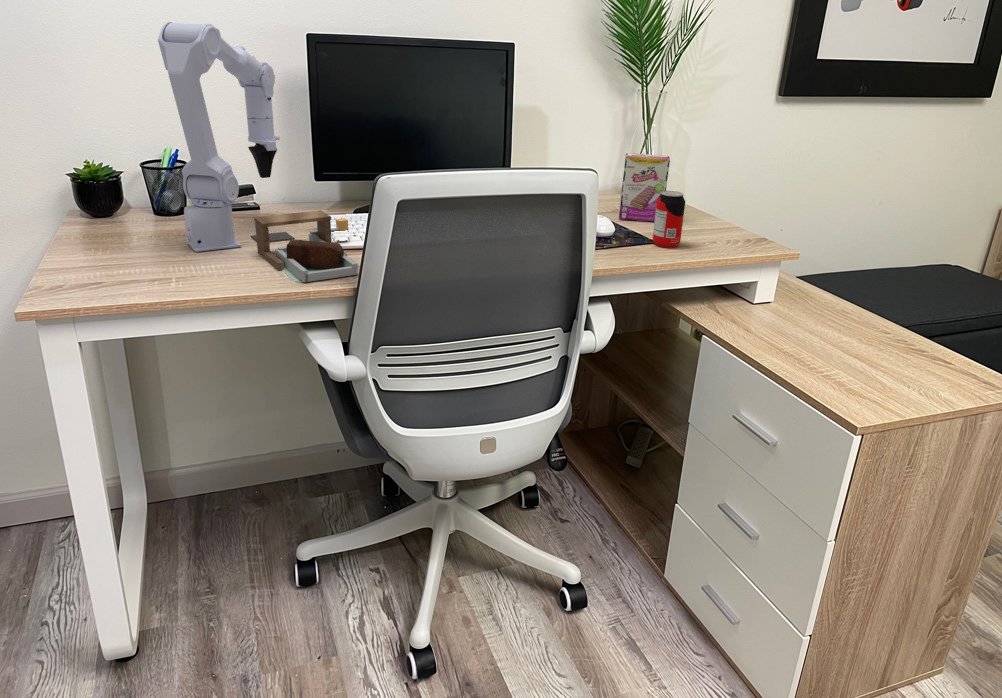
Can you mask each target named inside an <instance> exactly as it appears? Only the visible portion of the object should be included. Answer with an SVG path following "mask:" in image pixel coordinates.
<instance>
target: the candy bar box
mask: <svg viewBox="0 0 1002 698" xmlns="http://www.w3.org/2000/svg"><path fill="white" fill-rule="evenodd" d="M670 162H671V159H670V155H662V154H660V155H659V154H647V153H646V154H645V153H636V152H634V153H633V152H626V153H625V155H624V164H623V166H624V167H623V174H622V183H621V193H620V202H619V211H618V212H619V213H618V217H619V218H618V220H619V221H633V222H635V221H636V222H647V223H654V222H655V213H656V204H657V199H658V197H659V196H660V194H661V192H662V191H667V187H668V177H669V171H670V170H669V169H670V164H671V163H670Z"/></svg>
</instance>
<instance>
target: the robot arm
mask: <svg viewBox="0 0 1002 698" xmlns="http://www.w3.org/2000/svg"><path fill="white" fill-rule="evenodd" d="M157 42H158V46H159V50H160V53H161V57H162V60H163V64H164V68H165V70H166V71H167V74H168V79H169V81H170V85H171V86H170V87H171V89H172V92H173V93H172V94H173V96H174V101H175V104H176V109H177V112H178V115H179V120H180V123H181V126H182V131H183V134H184V137H185V141H186V147H187V148H188V153H189V156H190V159H189V161H188V162H187V163H186V164H185V165H184V166H183V168H182V170H181V173H182V180H183V181H182V182H183V183H182V187H183V192H184V194H185V196H186V198H187V199H188V200H190V204H191V205H189V206H185V207H184V208H183V209H184V210H183V215H184V223H185V224H184V225H185V231H186V243H187V244H188V246H189V247H190V248H191V249H192V250H193V251H194V252H196V253H198V252H206V251H214V250H222V249H231V248H240V247H242V244H241V243H240V242H239V241H238V240H237V239H236V238H235V237H236V236H235V230H234V229H235V228H234V220H233V209H232V204H234V203H235V202H236V200H237V198H238V196H239V192H240V191H239V190H240V187H239V180H238V179H237V178H236V175H235V174H234V172H233V169H232V166H231V165H230V164H229V162H227V161H225V160H224V159H223V158H222V157H221V156H219V153H218V149H217V145H216V142H215V138H214V133H213V129H212V125H211V121H210V117H209V113H208V110H207V104H206V100H205V98H204V97H205V96H204V92H203V89H202V85H201V80H200V79H201V77H202V75H203V74H205V73H208V72H209V70H210V69H211V68H212V66H213V64H214V62H215V61H216V59H217V60H219V61H220V62H222V65H223V68H224V69H225V70H226V72H228V73H229V74H231V75H232V76H233V77H235V78H236V79H237V81H238V83H239V86H240V87H241V88H243V89H244V98H245V99H244V101H245V109H246V119H247V121H246V122H247V131H248V133H247V134H248V136H247V140H248V142H250V143H254V145H252V146H248V150H249V152H250V153H251V155H252V157H253V160H254V162H255V166H256V169H257V172H258V175H259V178H261V179H269V178H271V175H272V170H273V169H272V167H273V162H274V159H275V156H276V154H277V152H278V148H277V141H280V140H281V137H280V136H279V135H275V128H274V127H275V126H274V113H273V103H272V102H273V100H272V97H274V87H275V86H274V85H275V82H276V74H275V72H274V69H273V67H272V66H271V65H270V64H268V63H267V62H263V61H262V62H260V61H259V60H258V59H257V57H256V56H254V55H251V54H250V53H249V52H247V51H246V48H245V47H244V46H240V45H237V46H231V45H230V43H228V42H227V40H225V39H224V38H223V37H222V36H221V31H220V29H219V28H216V26H214V25H213V24H212V23H204V24H202V23H180V22H179V23H177V22H172V21H167V22H165V23H163V25H162V27H161V29H160V32H159V35H158V38H157Z"/></svg>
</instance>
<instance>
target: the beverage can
mask: <svg viewBox="0 0 1002 698" xmlns="http://www.w3.org/2000/svg"><path fill="white" fill-rule="evenodd" d="M685 209H686V200H685V197H684V193H683V192H681V191H675V190H666V191H662V192H661V194H660V196H659V197H658V199H657V204H656V213H655V222H653V223H654V224H653V231H652V241H653V243H654V244H655V245H656V246H657V247H660V248H668V249H669V248H670V249H671V248H676V247H677V246H678V245H679V244H680V243H681V240H682V231H683V225H684V224H683V223H684V216H685Z"/></svg>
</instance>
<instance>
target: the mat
mask: <svg viewBox="0 0 1002 698" xmlns="http://www.w3.org/2000/svg"><path fill="white" fill-rule="evenodd" d="M304 268H305V267H304ZM340 268H342V267H341V266H340ZM305 269H306V270H308V272H314V271H321V270H328V268H326V269H325V268H305ZM331 269H332V268H331ZM281 271H282V272H283V273H284V274H285V275H286V274H287V277H288V278H290V279H291V280H292V281H293V282H295V283H297V282H298V281H299V282H302V281H301V280H300V279H298V278H297V277H296V276H295V275H294V274H292V273H291V272H290V271H289V270H288V269H287V268H285V267H284V270H281Z"/></svg>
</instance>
